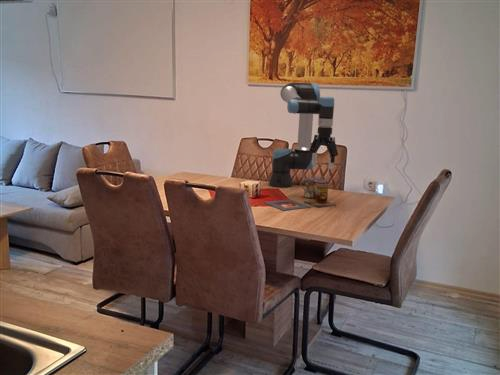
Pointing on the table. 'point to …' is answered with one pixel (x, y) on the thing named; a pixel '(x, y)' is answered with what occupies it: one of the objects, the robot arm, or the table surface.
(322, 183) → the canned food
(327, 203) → the walnut pad
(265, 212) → the table surface
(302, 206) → the frame
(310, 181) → the mug
